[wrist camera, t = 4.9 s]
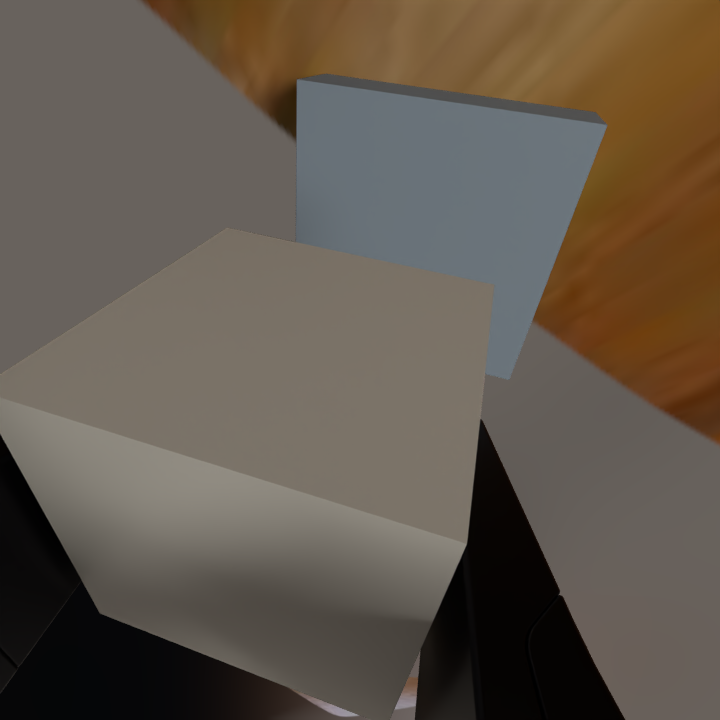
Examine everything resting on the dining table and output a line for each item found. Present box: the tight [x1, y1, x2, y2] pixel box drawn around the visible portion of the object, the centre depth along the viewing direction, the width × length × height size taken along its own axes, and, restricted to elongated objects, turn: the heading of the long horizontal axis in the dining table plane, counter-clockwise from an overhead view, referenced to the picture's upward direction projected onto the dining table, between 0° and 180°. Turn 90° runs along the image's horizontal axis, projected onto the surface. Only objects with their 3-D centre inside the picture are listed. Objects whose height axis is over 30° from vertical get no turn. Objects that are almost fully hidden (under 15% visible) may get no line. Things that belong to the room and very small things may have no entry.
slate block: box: [296, 74, 607, 380], centre depth 17 cm, size 9×9×3 cm
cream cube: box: [0, 228, 494, 720], centre depth 8 cm, size 5×5×5 cm
